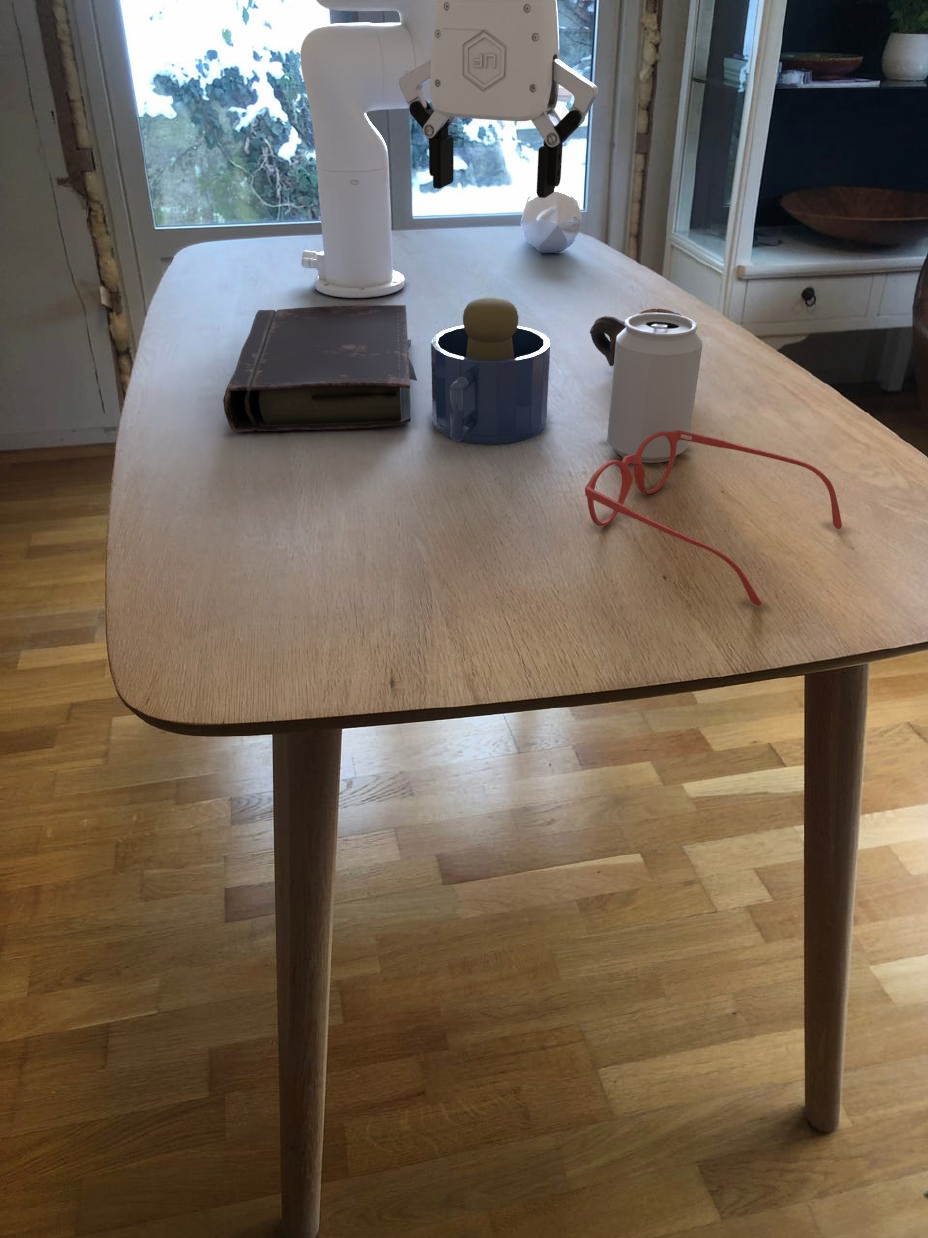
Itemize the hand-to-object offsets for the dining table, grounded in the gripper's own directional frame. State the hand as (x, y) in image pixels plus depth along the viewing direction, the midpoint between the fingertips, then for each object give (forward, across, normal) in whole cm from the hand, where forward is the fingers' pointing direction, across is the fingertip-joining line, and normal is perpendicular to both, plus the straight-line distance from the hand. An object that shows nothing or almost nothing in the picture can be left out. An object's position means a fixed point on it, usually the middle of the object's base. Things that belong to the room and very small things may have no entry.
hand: (493, 190), depth 84 cm
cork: (+20, +1, -2) cm, 20 cm away
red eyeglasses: (+21, +25, -17) cm, 36 cm away
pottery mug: (+21, +12, +16) cm, 29 cm away
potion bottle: (+22, -16, +69) cm, 74 cm away
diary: (+21, -19, +1) cm, 28 cm away
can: (+21, +17, -3) cm, 27 cm away
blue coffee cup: (+21, +1, -4) cm, 21 cm away
